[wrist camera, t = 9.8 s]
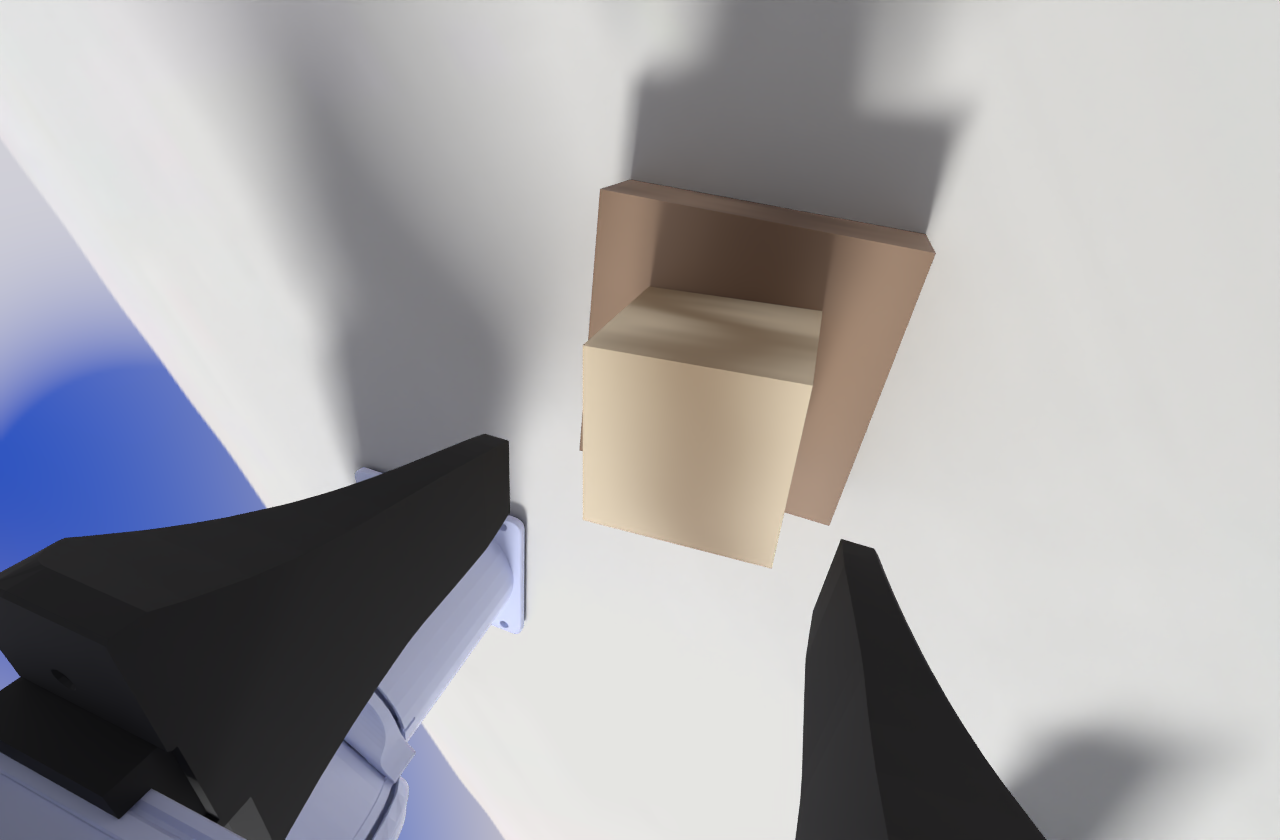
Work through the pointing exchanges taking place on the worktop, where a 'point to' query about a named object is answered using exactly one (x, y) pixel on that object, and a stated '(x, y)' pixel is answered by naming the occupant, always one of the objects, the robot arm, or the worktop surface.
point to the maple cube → (697, 419)
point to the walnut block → (775, 299)
